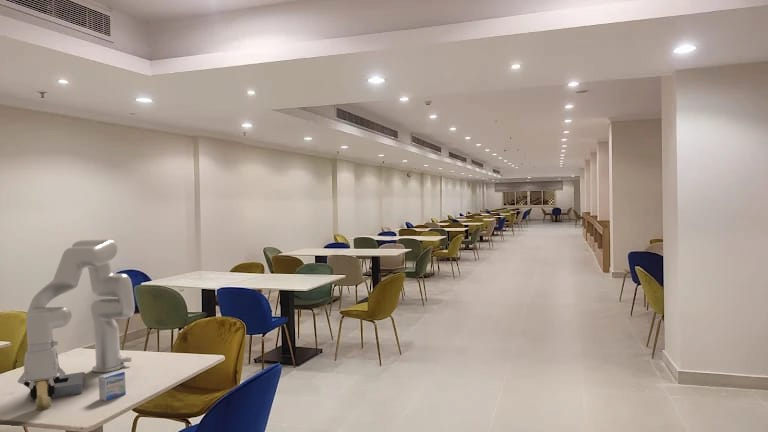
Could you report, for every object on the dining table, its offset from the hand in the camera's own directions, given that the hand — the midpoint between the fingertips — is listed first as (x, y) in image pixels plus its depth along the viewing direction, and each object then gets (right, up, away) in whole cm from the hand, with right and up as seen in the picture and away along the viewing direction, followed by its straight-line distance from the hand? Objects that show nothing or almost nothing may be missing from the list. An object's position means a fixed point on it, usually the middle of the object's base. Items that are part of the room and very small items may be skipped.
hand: (43, 396), depth 183 cm
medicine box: (+20, -3, +10) cm, 22 cm away
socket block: (-5, -4, +17) cm, 19 cm away
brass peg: (0, -4, 0) cm, 4 cm away
